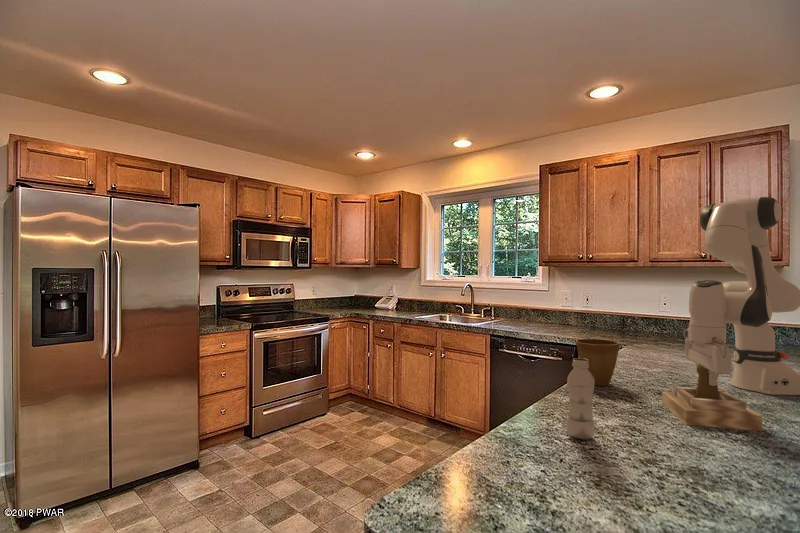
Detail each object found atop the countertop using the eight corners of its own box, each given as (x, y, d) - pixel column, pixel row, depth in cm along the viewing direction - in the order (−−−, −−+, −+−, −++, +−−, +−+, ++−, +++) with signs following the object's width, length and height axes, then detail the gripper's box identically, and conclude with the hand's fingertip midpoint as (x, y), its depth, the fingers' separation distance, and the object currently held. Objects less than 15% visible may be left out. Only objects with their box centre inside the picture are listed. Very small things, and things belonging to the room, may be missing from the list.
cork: (725, 405, 117) (725, 366, 118) (702, 404, 118) (702, 366, 118) (712, 398, 123) (712, 362, 124) (690, 397, 124) (690, 361, 124)
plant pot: (621, 381, 159) (620, 340, 159) (617, 391, 146) (617, 346, 146) (579, 376, 167) (579, 336, 167) (572, 384, 154) (572, 342, 154)
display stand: (727, 409, 127) (727, 388, 127) (762, 431, 110) (762, 406, 110) (662, 404, 132) (662, 383, 132) (685, 424, 114) (685, 401, 114)
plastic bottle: (562, 433, 109) (561, 357, 109) (586, 432, 109) (586, 356, 109) (574, 443, 102) (574, 362, 102) (600, 442, 103) (600, 362, 103)
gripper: (739, 341, 110) (739, 393, 110) (703, 331, 130) (704, 374, 130) (711, 340, 112) (712, 391, 112) (681, 330, 132) (681, 373, 131)
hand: (707, 382), depth 121 cm, fingers open, 4 cm apart
